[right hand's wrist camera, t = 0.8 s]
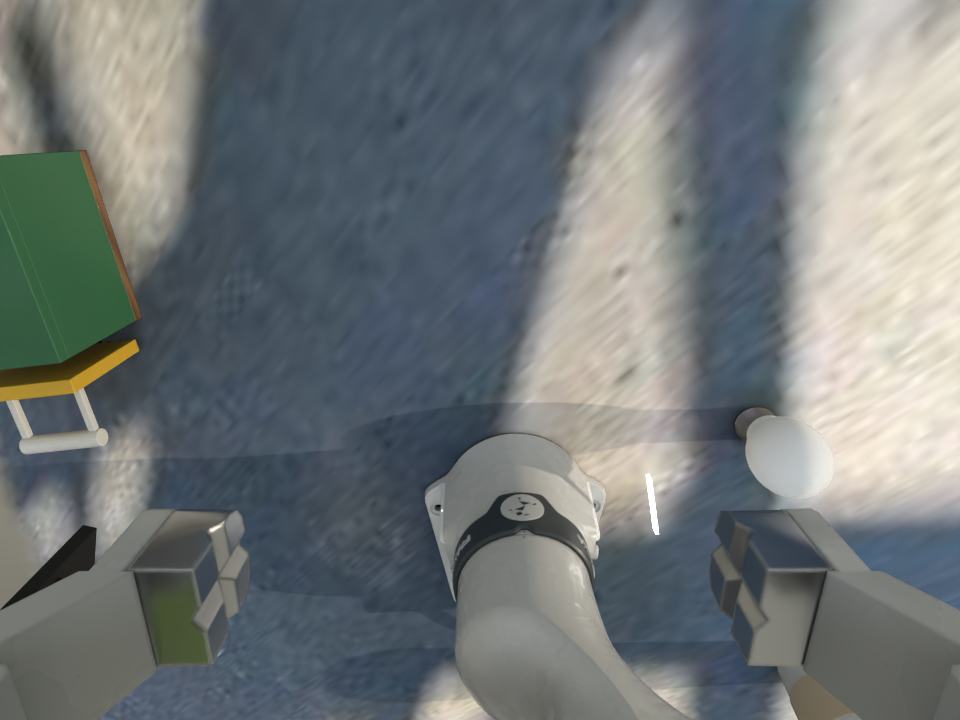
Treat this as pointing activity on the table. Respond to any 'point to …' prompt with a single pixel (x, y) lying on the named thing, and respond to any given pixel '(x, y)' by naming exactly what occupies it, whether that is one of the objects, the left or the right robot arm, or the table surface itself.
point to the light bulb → (785, 453)
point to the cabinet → (57, 261)
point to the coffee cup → (812, 697)
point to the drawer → (59, 382)
